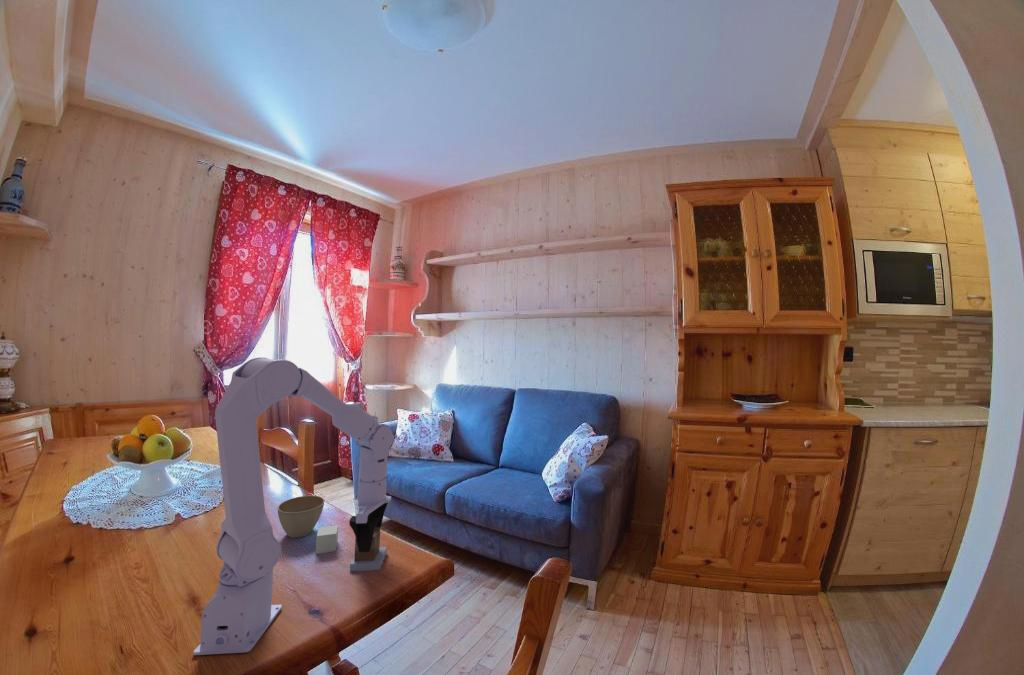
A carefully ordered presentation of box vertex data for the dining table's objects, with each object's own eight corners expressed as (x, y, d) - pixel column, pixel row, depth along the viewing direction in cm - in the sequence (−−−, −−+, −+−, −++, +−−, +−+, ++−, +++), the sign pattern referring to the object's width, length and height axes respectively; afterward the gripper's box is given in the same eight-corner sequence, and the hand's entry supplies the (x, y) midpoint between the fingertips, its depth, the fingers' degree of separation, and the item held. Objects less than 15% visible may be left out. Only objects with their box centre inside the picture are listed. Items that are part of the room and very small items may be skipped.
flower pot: (302, 546, 82) (303, 515, 82) (265, 540, 84) (267, 509, 84) (332, 525, 92) (333, 497, 92) (298, 520, 94) (300, 493, 94)
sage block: (335, 551, 81) (336, 533, 81) (315, 554, 79) (316, 536, 79) (337, 542, 84) (338, 525, 84) (318, 544, 83) (319, 527, 83)
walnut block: (373, 560, 75) (375, 536, 75) (354, 560, 75) (355, 536, 75) (379, 550, 79) (380, 527, 79) (360, 550, 79) (362, 527, 79)
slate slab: (379, 572, 74) (379, 562, 74) (349, 573, 74) (350, 564, 74) (386, 555, 80) (386, 546, 80) (358, 556, 80) (359, 547, 80)
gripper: (383, 490, 71) (380, 560, 70) (398, 466, 85) (396, 524, 85) (346, 491, 70) (342, 561, 70) (367, 466, 84) (365, 524, 84)
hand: (369, 541), depth 77 cm, fingers open, 7 cm apart
